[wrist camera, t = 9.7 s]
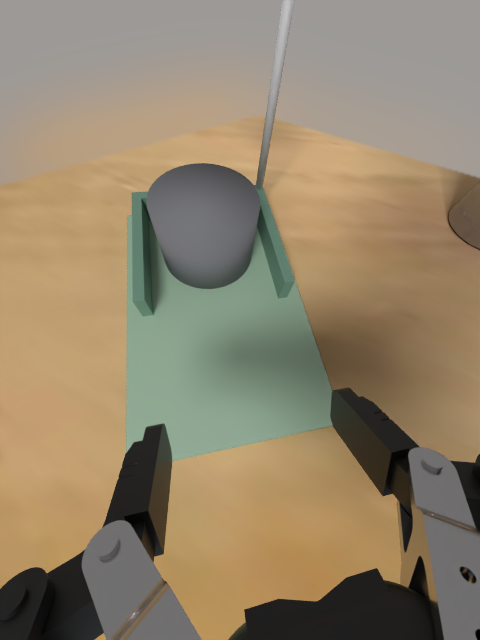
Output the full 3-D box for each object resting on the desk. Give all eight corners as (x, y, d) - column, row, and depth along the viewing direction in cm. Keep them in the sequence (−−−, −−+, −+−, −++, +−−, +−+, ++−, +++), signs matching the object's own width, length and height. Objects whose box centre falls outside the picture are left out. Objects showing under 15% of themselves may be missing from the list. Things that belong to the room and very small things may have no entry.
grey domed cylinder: (241, 217, 30) (247, 160, 24) (260, 282, 26) (272, 235, 20) (160, 224, 29) (144, 166, 23) (167, 294, 25) (149, 248, 19)
